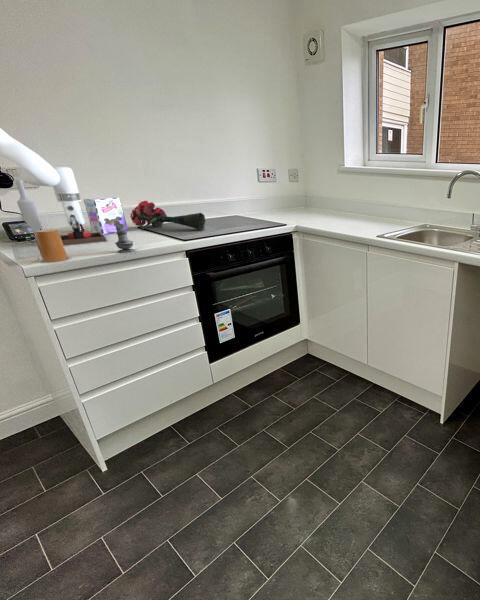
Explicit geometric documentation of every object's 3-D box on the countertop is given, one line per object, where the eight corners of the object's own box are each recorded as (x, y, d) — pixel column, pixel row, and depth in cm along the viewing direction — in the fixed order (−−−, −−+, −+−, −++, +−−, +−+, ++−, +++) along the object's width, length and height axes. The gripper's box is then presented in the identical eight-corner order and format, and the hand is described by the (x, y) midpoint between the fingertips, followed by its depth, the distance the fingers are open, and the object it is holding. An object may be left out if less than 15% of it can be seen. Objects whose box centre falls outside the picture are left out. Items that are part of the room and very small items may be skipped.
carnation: (205, 243, 190) (136, 239, 186) (213, 217, 199) (147, 212, 195) (194, 224, 177) (119, 219, 172) (203, 197, 185) (132, 192, 181)
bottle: (47, 238, 156) (27, 179, 147) (46, 240, 152) (26, 180, 143) (31, 239, 153) (10, 179, 144) (29, 242, 149) (8, 180, 140)
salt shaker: (131, 248, 144) (123, 219, 140) (138, 250, 142) (130, 221, 137) (114, 251, 140) (106, 221, 135) (121, 253, 137) (113, 222, 133)
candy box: (103, 235, 167) (93, 199, 161) (92, 234, 168) (82, 198, 162) (128, 230, 180) (120, 197, 174) (118, 229, 180) (109, 196, 174)
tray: (60, 245, 145) (58, 241, 145) (56, 240, 154) (55, 236, 153) (106, 241, 156) (105, 236, 155) (100, 236, 164) (99, 232, 163)
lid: (91, 234, 159) (90, 230, 158) (90, 237, 153) (89, 232, 153) (70, 235, 154) (68, 231, 154) (68, 238, 149) (66, 233, 148)
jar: (43, 263, 122) (33, 232, 118) (42, 259, 126) (31, 230, 122) (68, 260, 127) (59, 230, 123) (66, 256, 131) (57, 228, 127)
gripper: (78, 199, 144) (90, 242, 150) (81, 195, 157) (93, 235, 163) (53, 199, 139) (67, 244, 146) (59, 196, 152) (71, 236, 159)
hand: (80, 239), depth 154 cm, fingers closed on lid, 7 cm apart
